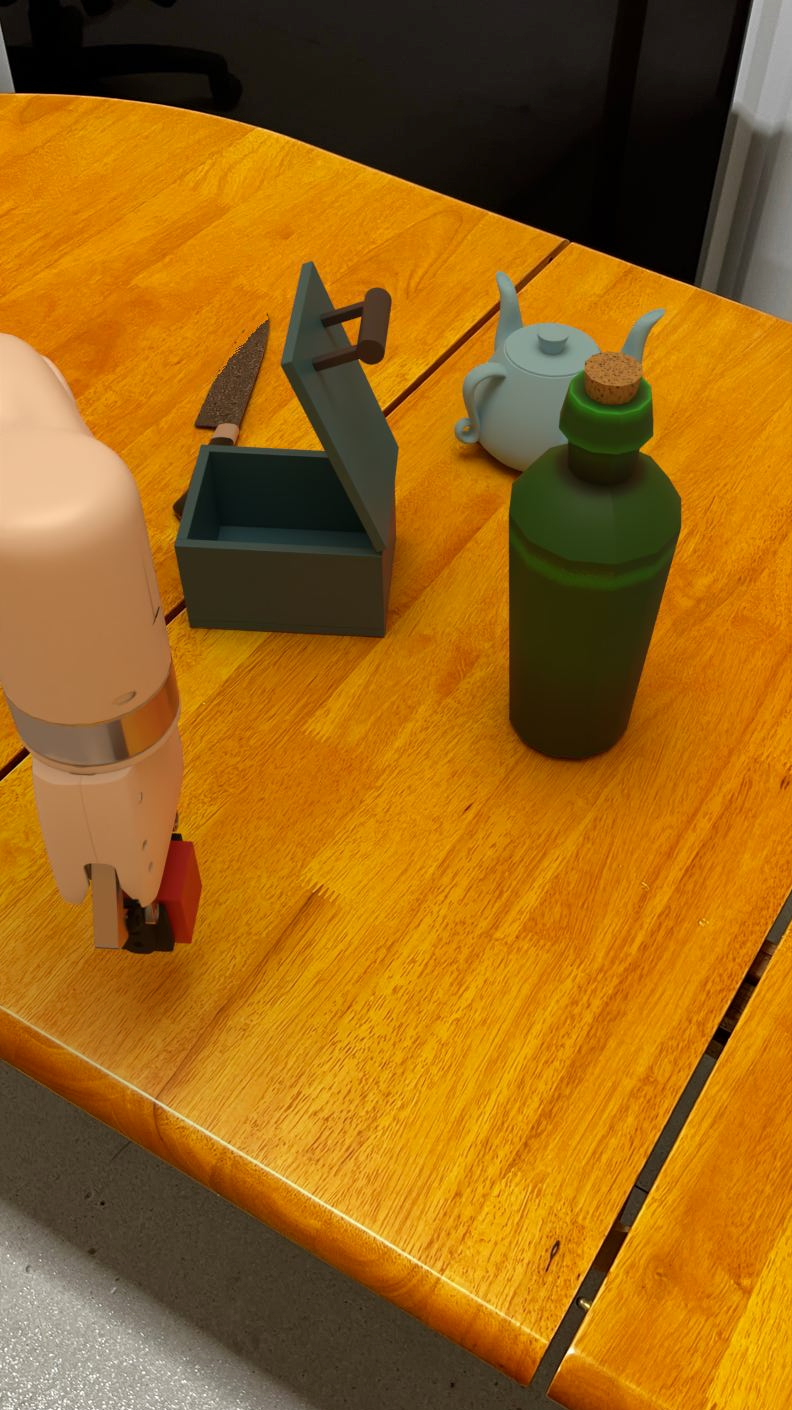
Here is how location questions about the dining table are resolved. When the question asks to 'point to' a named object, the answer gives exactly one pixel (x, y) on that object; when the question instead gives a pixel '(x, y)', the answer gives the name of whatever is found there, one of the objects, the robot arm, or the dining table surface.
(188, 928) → the red block
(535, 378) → the teapot
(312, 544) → the cool box
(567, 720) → the bottle
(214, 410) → the knife
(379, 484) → the lid
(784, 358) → the dining table surface
